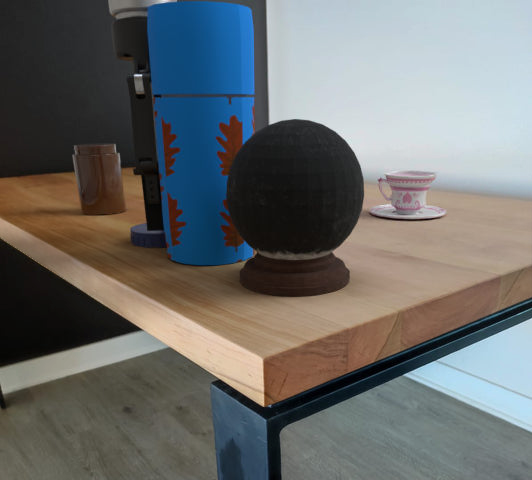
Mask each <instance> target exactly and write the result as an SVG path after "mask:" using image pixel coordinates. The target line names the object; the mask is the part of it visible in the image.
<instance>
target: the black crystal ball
mask: <svg viewBox="0 0 532 480" xmlns="http://www.w3.org/2000/svg"><path fill="white" fill-rule="evenodd" d="M226 199H227V206H228V212H229V214H230V217H231V220H232V223H233V225H234V227H235V228H236V230H237V232H238V233H239V235H240V236H241V237H242V238H243V240H244V241H245V242H246V243H247V244H248V245H249V246H250V247H251V248H252V249H254V252H255V253H256V254H254V255H253V256H252V257H251V258H248V259H246V260H245V263H244V265H243V267H242V268H241V269H240V270H239V283H240V284H241V286H243V287H244V288H245V289H248V290H250V291H253V292H255V293H259V294H263V295H270V296H278V297H309V296H317V295H319V296H320V295H323V294H329V293H333V292H336V291H339V290H342V289H344V288H345V287H347V285H349V283H350V277H351V276H350V275H351V271H350V269H349V268H348V267H347V265H346V263H345V262H344V260H343V259H341V258H339V257H338V256H336V255H335V254H334V251H335V250H337V249H338V248H339V247H341V245H342V244H343V243H344V242H345V241H346V240H347V239H348V238H349V237H350V236H351V234H352V232H353V231H354V229H355V227H356V226H357V224H358V222H359V219H360V217H361V213H362V211H363V206H364V201H365V200H364V199H365V181H364V175H363V171H362V167H361V164H360V161H359V159H358V157H357V155H356V153H355V151H354V150H353V148H352V147H351V146H350V144H349V143H348V142H347V140H345V138H343V137H342V136H341V135H340V134H339V133H338V132H337V131H335V130H334V129H332V128H330V127H328V126H326V125H325V124H323V123H319V122H316V121H314V120H309V119H302V118H301V119H300V118H292V119H283V120H279V121H276V122H273V123H271V124H270V123H269V124H268V125H266V126H264V127H262V128H261V129H259V130H257V131H255V134H254V135H252V136H251V137H250V138H249V139H248V140H247V141H246V142H245V143H244V144H243V146H242V147H241V148H240V150H239V151H238V153H237V154H236V156H235V158H234V160H233V163H232V165H231V167H230V171H229V175H228V179H227V189H226Z"/></svg>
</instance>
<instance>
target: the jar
mask: <svg viewBox="0 0 532 480" xmlns="http://www.w3.org/2000/svg"><path fill="white" fill-rule="evenodd" d="M73 146H74V148H73V151H74V153H73V154H72V162H73V168H74V174H75V180H76V186H77V187H76V188H77V192H78V193H77V194H78V200H79V206H80V212H81V214H82V215H86V216H100V215H99V214H110V215H112V214H111V213H117V214H119V213H118V212H122V213H124V212H126V211H127V204H126V195H125V186H124V178H123V170H122V163H121V155H120V154H121V153H120V152H118V151H117V147H116V146H117V145H116V143H113V142H112V143H111V142H104V143H102V142H101V143H100V142H99V143H97V142H96V143H79V144H74V145H73ZM125 210H126V211H125ZM123 211H124V212H123Z"/></svg>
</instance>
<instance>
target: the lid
mask: <svg viewBox="0 0 532 480" xmlns="http://www.w3.org/2000/svg"><path fill="white" fill-rule="evenodd" d="M129 228H130V229H129V236H130V243H131V244H132V245H134V246H137V247H141V248H152V247H158V248H167V246H166V239H165V231H147V224H146V222H143V223H140V224H135V225H132V226H131V227H129Z"/></svg>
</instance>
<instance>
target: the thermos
mask: <svg viewBox="0 0 532 480" xmlns="http://www.w3.org/2000/svg"><path fill="white" fill-rule="evenodd" d="M147 32H148V44H149V56H150V68H151V80H152V92H153V95H161V97H153V104H154V116H155V129H156V141H157V153H158V165H159V177H160V189H161V201H162V213H163V224H164V231H165V239H166V246H167V247H166V251H167V252H166V253H167V258H168V259H170V260H171V261H173V262H176V263H178V264H179V263H180V264H183V265H192V266H221V265H229V264H236V263H240V262H244V261H247V260H249V259H250V258H253V257H254V255H255V250H254V249H252V248H251V247H250V246H249V245H248V244H247V243H246V242H245V241H244V240H243V238H242V237H241V236H240V235H239V233H238V232H237V230H236V228H235V227H234V225H233V223H232V220H231V217H230V214H229V212H228V206H227V199H226V189H227V179H228V175H229V171H230V167H231V165H232V163H233V160H234V158H235V156H236V154H237V153H238V151H239V150H240V148H241V147H242V146H243V144H244V143H245V142H246V141H247V140H248V139H249V138H250V137H251V136H252V135H254V134H255V133H256V115H255V114H256V113H255V112H256V110H255V108H256V107H255V104H256V103H255V97H254V95H255V27H254V20H253V12H252V8H250V7H249V6H247V5H242V4H240V3H231V2H224V1H210V0H208V1H207V0H206V1H205V0H183V1H181V0H180V1H177V2H166V3H159V4H154V5H151V6H149V7H148V19H147ZM251 95H252V96H251ZM250 96H251V97H250Z"/></svg>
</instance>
